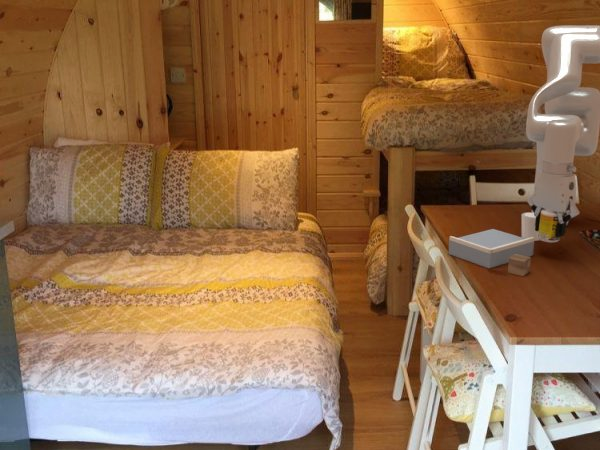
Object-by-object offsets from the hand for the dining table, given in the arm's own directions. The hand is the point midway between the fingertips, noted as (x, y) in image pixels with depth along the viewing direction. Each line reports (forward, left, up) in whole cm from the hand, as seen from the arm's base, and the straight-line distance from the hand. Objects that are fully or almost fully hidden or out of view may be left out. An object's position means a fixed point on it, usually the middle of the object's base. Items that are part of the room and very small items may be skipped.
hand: (549, 232), depth 173 cm
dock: (+12, -9, -7) cm, 16 cm away
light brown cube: (+17, +4, -7) cm, 19 cm away
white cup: (-10, -12, -7) cm, 17 cm away
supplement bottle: (0, 0, -2) cm, 2 cm away
